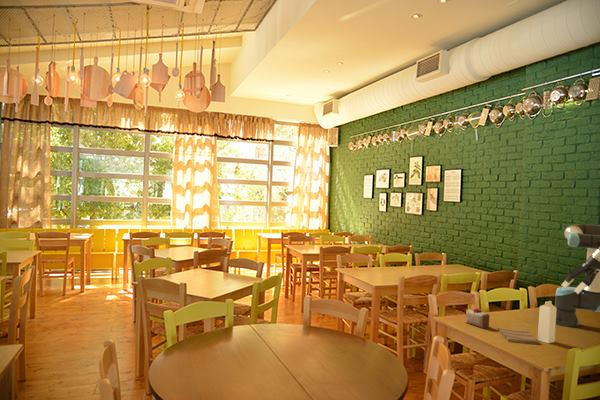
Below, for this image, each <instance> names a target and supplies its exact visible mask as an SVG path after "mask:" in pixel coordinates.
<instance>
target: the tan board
mask: <svg viewBox="0 0 600 400" xmlns="http://www.w3.org/2000/svg"><path fill="white" fill-rule="evenodd" d="M497 331H498V332H499V333H500V334H501V335H502V337H503V338H504V339H505V340H506V341H507V342H513V343H519V344H520V343H523V344H530V345H539V346H540V345H541V341H539V340H538V338H536V337H535V336H534V335H533V334H531V333H530V332H529V331H528V330H523V329H517V328H515V329H513V328H505V327H503V328H502V327H497Z"/></svg>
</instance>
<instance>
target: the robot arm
mask: <svg viewBox="0 0 600 400" xmlns="http://www.w3.org/2000/svg"><path fill="white" fill-rule="evenodd" d="M563 235H564V238H565V239H567V245H568V246H569V247H573V248H585V249H587V252H586V262H585V261H583V262H582V263H581V264H579V265H578V266H576V267H575V268H574V269H572V270H570V271H569V272H568V274H567V275H568V277H567V278H566V279H565V280H564V281H563V282H562V283H561V286H559V287H557V288H556V290H555V302H554V306H555V307H556V308H557V309H556V325H559V326H564V327H570V328H577V327H579V325H580V324H579V319H578V315H577V310H582V311H583V310H584V311H591V312H594V313H595V312H598V313H600V224H589V223H588V224H587V223H575V224H571V225H568V226H567V227H566V228H564V231H563ZM582 275H584V280H583V281H581V282H580V283H579V284H578V285H577V286H576V287H574V286H573V287H572V286H570V285H571V284H572V283H573V282H574V280H575V279H576V278H577V277H579V276H582Z"/></svg>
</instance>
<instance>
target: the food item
mask: <svg viewBox="0 0 600 400" xmlns="http://www.w3.org/2000/svg"><path fill="white" fill-rule="evenodd" d="M465 323H466V324H468V323H469V325H472V326H474V327H475V326H476V327H478V328H481V329H488V328H489V327H490V314H489V313H485V312H483V311H482V310H481V309H480V308H479V309H478V308H474V309H466V310H465Z"/></svg>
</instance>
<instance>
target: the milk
mask: <svg viewBox="0 0 600 400" xmlns="http://www.w3.org/2000/svg"><path fill="white" fill-rule="evenodd" d="M544 302H545V303H544V304H542V305H540V306H539V310H538V311H539V313H538V316H539V317H538V329H537V340H538V341H540V342H542V343H546V344H552V343H555V340H556V339H555V337H556V325H557V324H556V309H557V308H556V307H555V304H554V305H553V304H552V303H553V302H552V300H549V301H544Z"/></svg>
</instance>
